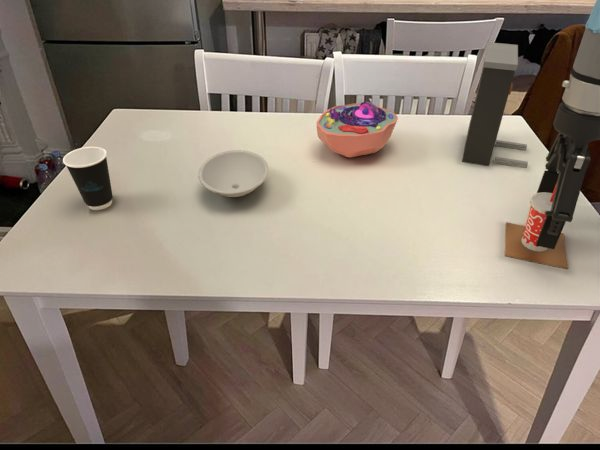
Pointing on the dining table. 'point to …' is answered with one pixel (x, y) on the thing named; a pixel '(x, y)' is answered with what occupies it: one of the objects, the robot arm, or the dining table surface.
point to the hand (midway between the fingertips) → (543, 223)
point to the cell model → (356, 128)
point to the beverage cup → (536, 219)
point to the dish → (233, 172)
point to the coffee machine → (492, 107)
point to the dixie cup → (90, 175)
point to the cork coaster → (519, 251)
